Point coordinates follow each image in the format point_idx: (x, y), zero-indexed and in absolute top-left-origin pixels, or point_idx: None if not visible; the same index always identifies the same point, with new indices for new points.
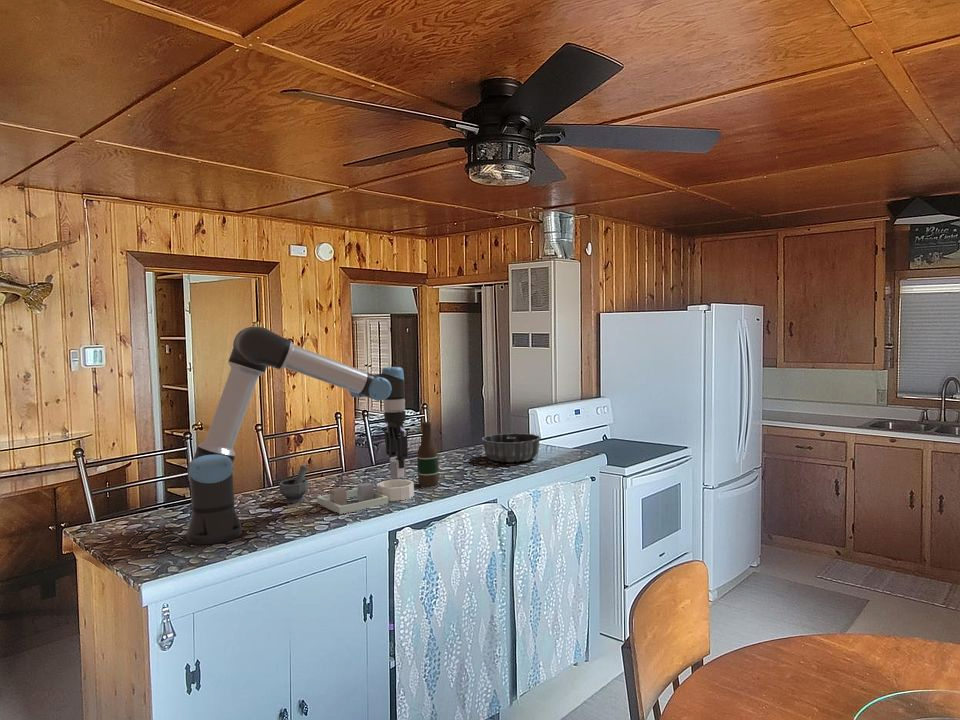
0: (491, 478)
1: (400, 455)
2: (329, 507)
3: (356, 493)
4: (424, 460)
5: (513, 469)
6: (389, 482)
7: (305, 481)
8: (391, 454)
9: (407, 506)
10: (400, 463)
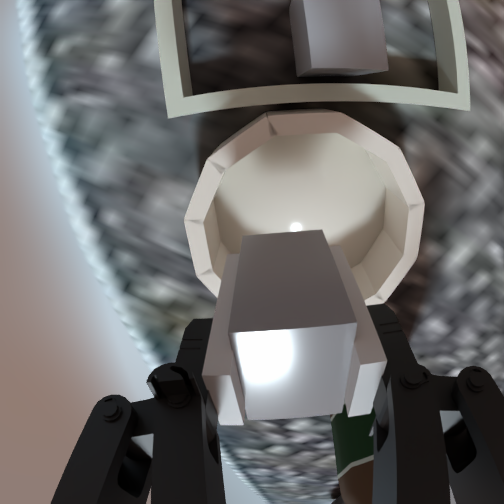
0: (280, 463)
1: (108, 424)
2: None
3: (444, 58)
4: (363, 452)
5: (312, 486)
6: (400, 240)
7: None
8: (388, 406)
9: (92, 180)
10: (178, 356)
